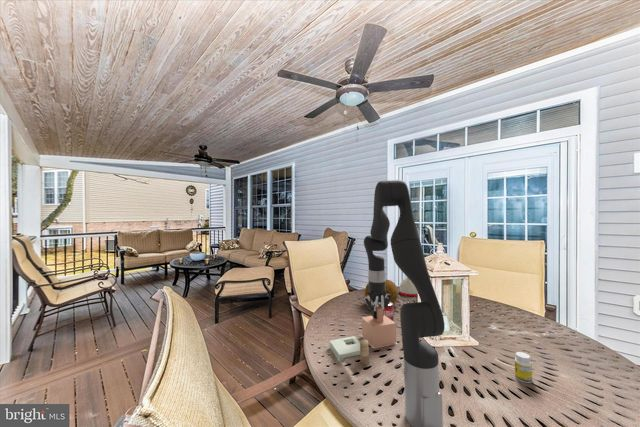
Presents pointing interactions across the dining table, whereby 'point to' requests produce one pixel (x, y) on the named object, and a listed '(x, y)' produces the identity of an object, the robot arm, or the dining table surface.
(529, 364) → the supplement bottle
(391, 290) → the decorative pumpkin
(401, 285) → the kitchen timer
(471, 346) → the dining table surface
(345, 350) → the peg board
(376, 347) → the board
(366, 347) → the peg
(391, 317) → the soda can
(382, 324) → the peach stamp with handle
